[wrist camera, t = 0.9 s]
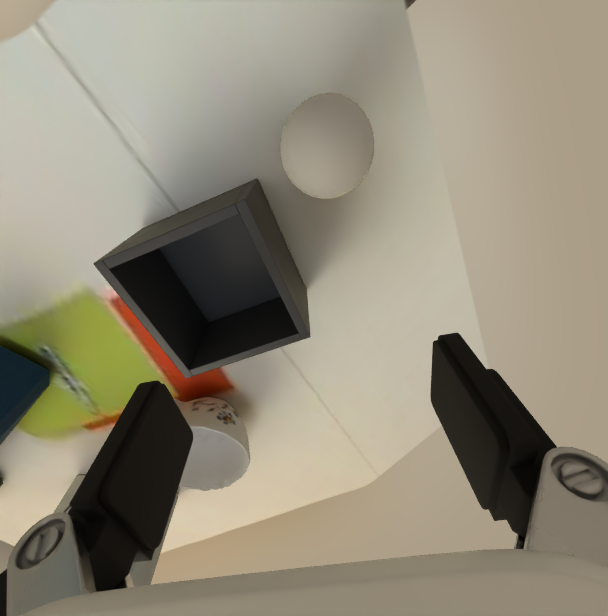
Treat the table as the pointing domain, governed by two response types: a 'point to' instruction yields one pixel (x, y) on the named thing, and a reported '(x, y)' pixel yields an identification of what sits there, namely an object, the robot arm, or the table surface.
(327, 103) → the lightbulb
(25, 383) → the radio
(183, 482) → the teacup
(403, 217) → the table surface
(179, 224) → the bin
